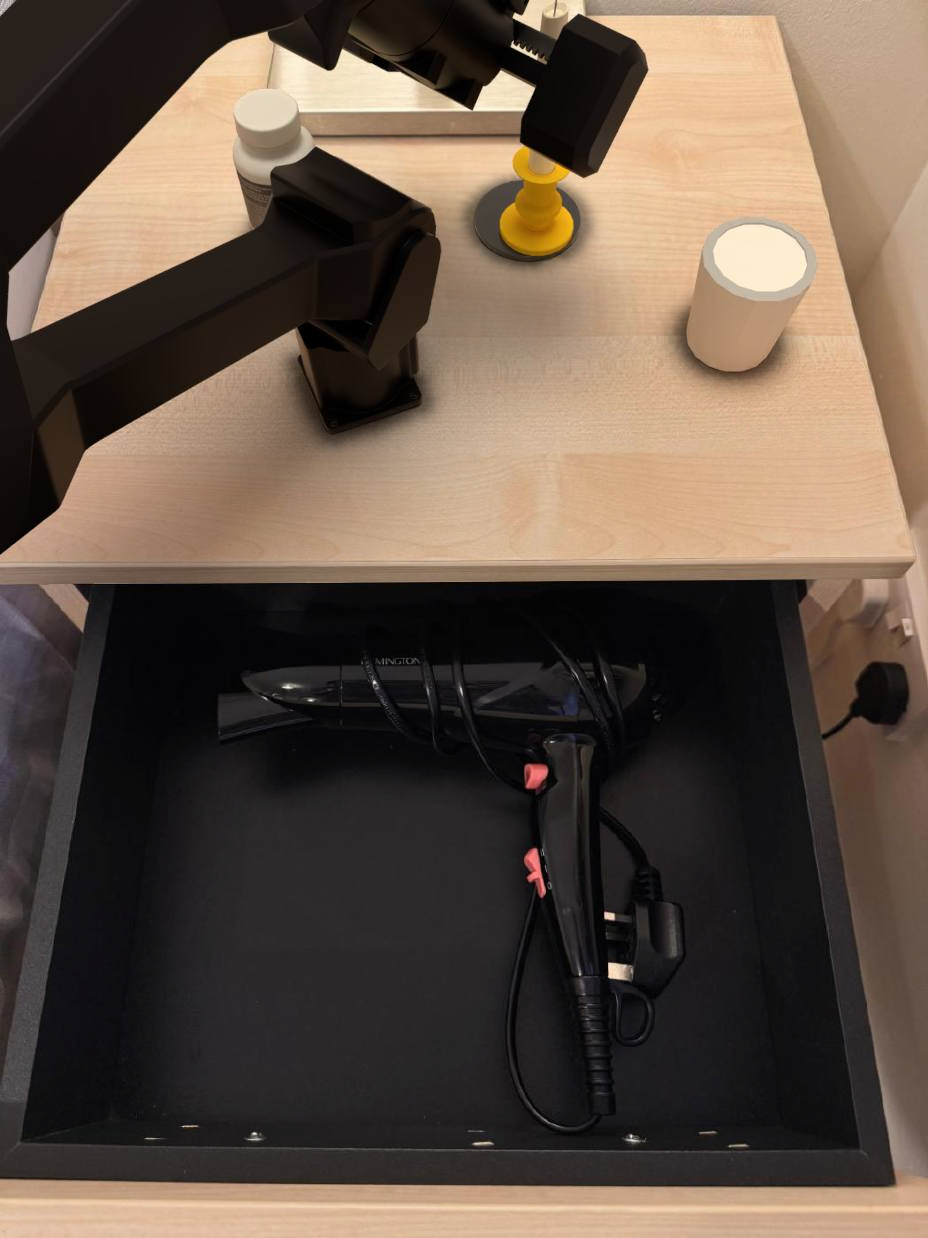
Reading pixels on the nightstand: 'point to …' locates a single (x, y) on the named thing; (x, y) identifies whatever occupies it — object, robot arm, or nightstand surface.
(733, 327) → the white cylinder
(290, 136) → the pill bottle
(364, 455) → the nightstand surface
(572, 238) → the coaster
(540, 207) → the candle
